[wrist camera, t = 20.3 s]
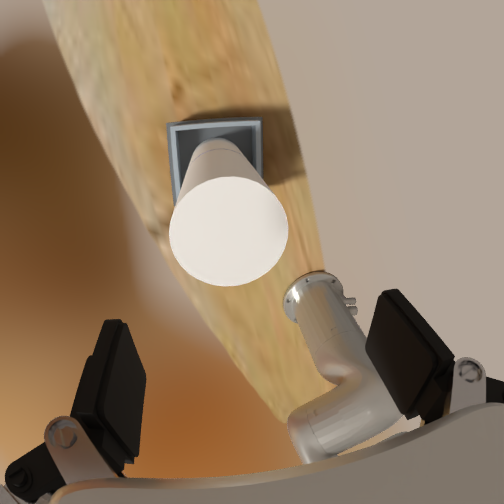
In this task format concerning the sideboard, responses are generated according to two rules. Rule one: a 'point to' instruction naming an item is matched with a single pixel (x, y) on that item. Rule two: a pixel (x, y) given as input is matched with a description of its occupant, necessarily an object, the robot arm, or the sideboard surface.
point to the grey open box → (196, 131)
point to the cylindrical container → (226, 218)
